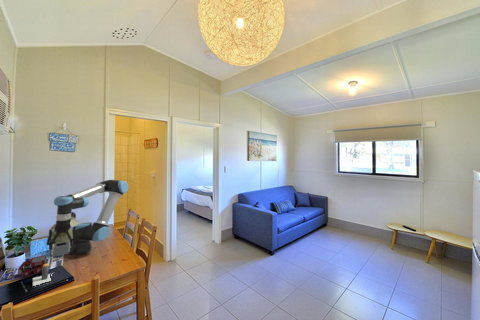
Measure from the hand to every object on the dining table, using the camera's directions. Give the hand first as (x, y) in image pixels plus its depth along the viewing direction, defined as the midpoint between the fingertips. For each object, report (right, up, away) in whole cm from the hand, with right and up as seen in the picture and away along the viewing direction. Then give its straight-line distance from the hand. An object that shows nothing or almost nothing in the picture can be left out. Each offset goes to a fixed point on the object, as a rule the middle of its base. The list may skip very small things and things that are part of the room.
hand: (60, 252), depth 133 cm
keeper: (+1, -12, -12) cm, 17 cm away
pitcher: (-41, -12, +47) cm, 64 cm away
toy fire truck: (-14, -11, -6) cm, 19 cm away
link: (0, 0, 0) cm, 0 cm away
